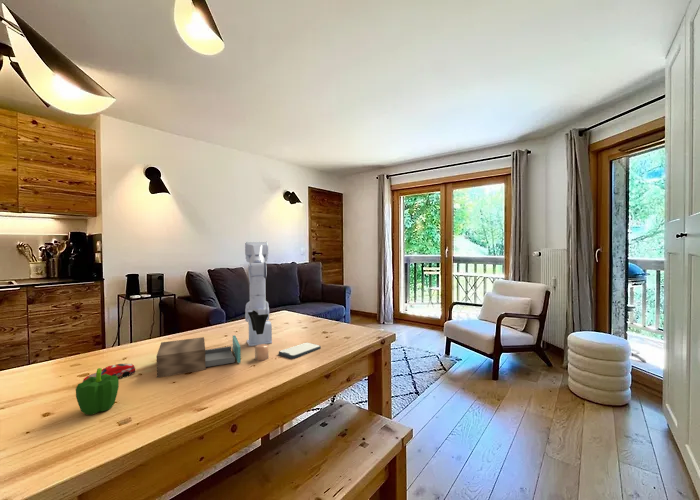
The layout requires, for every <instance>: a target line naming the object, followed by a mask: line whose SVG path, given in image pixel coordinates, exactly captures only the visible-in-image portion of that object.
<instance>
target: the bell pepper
mask: <svg viewBox="0 0 700 500" xmlns="http://www.w3.org/2000/svg"><path fill="white" fill-rule="evenodd" d="M102 369H103V368H101V367H98V368H96V372H95V373H96V377H89V378H88V379H86V380H85V381H84V382H83V381H82V382H80V383H77V386H76V388H75V398H76V401H77V404H78V407H79V409H80V411H81V412H82V413H83V414H84V415H86V416H91V415H95V414H98V413H99V412H105V411H109V410H110V409H112V407H114V405H115V402H116V399H117V395H118V391H119V385H120V383H119V382H120V381H119V379H120V378H119V379H118V377H117V376H111V375H108V374H103V375H101V370H102Z"/></svg>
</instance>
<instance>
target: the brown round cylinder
mask: <svg viewBox="0 0 700 500" xmlns="http://www.w3.org/2000/svg"><path fill="white" fill-rule="evenodd" d="M268 359H269V344H259V345H255V346H254V360H255V361H257V362H262V361H267V360H268Z"/></svg>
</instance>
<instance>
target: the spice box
mask: <svg viewBox="0 0 700 500" xmlns="http://www.w3.org/2000/svg"><path fill="white" fill-rule="evenodd" d="M205 350H206V344H205V337H204V336H202V337H195V338H187V339H180V340H179V339H178V340H177V339H176V340H170V341H161V343H160V346H159V347H158V351H157V353H156V358H155V359H156V378H163V377H169V376H174V375H181V374H186V373H192V372H198V371H205V370H206V367H205Z"/></svg>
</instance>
